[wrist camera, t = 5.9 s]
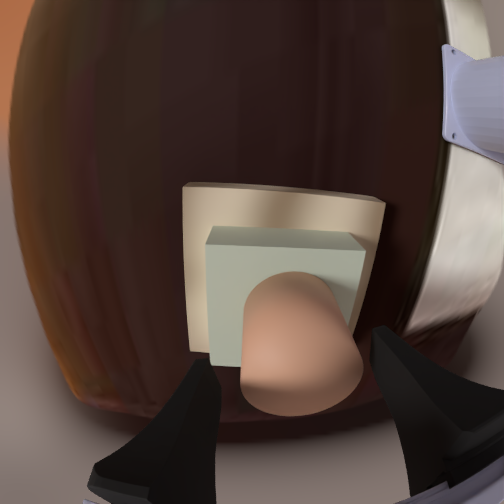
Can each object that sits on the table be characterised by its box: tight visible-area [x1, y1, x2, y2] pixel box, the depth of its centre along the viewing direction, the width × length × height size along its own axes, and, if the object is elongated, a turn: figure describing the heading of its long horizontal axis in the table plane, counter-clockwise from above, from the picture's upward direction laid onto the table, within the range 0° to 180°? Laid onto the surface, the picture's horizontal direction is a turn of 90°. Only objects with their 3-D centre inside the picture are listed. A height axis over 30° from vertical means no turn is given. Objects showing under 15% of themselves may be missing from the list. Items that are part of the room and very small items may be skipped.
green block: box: [205, 226, 366, 367], centre depth 16 cm, size 8×8×3 cm
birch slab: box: [183, 182, 386, 353], centre depth 19 cm, size 12×12×2 cm
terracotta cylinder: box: [240, 271, 363, 416], centre depth 12 cm, size 5×5×5 cm
